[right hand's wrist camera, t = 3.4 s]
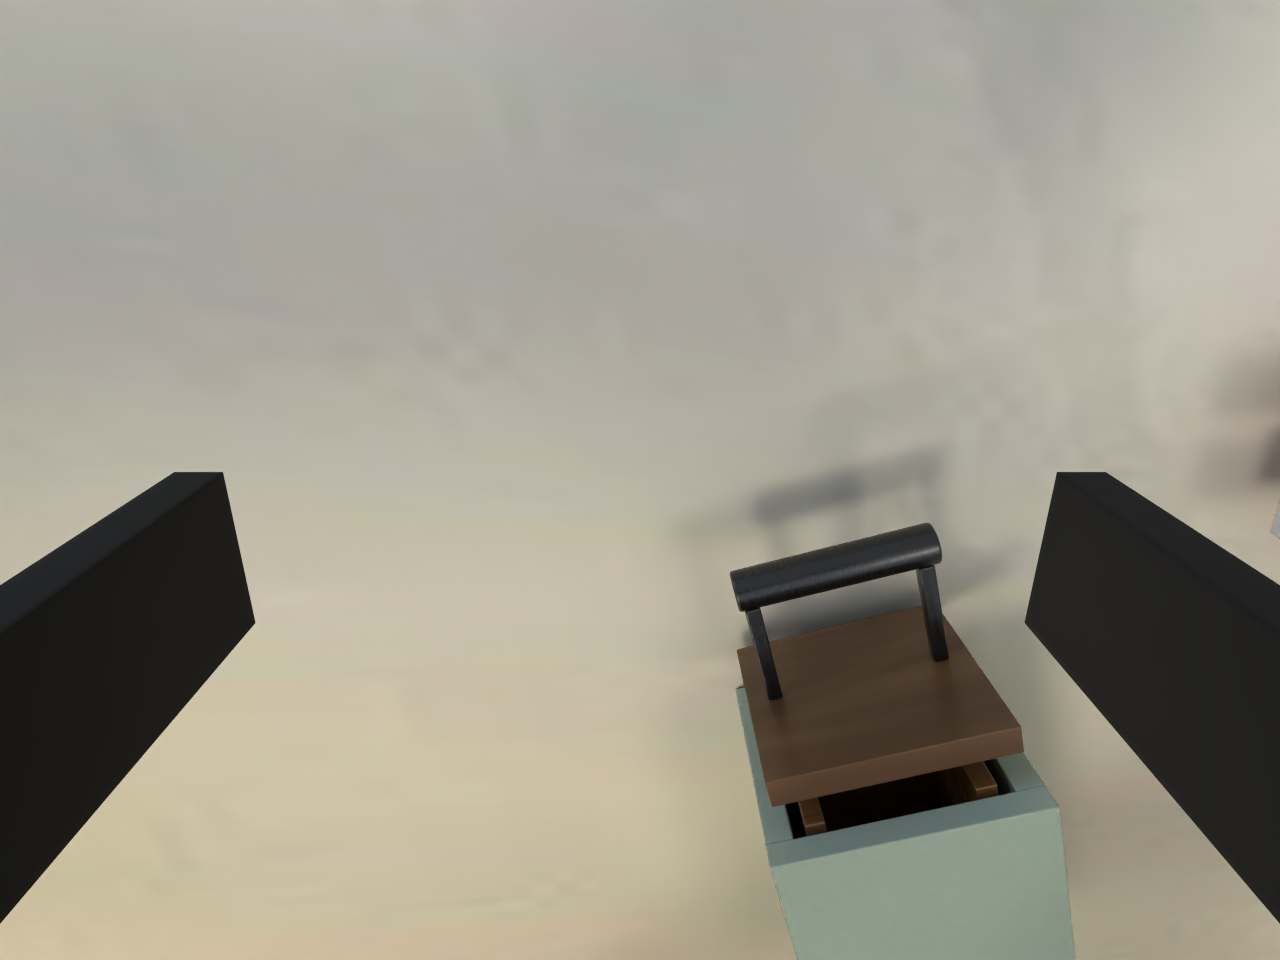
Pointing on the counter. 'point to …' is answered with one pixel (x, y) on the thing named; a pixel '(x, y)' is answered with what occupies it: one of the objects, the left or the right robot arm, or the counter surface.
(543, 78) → the counter surface
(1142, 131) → the counter surface
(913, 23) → the counter surface
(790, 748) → the drawer
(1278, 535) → the toy
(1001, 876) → the sage green rectangular box
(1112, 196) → the counter surface
